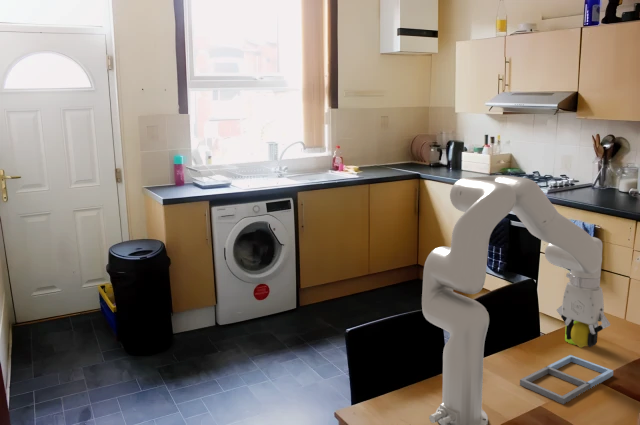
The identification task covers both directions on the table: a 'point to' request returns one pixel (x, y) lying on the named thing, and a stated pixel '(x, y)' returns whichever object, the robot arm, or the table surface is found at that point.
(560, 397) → the grey divided frame
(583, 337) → the lemon
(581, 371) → the table surface
